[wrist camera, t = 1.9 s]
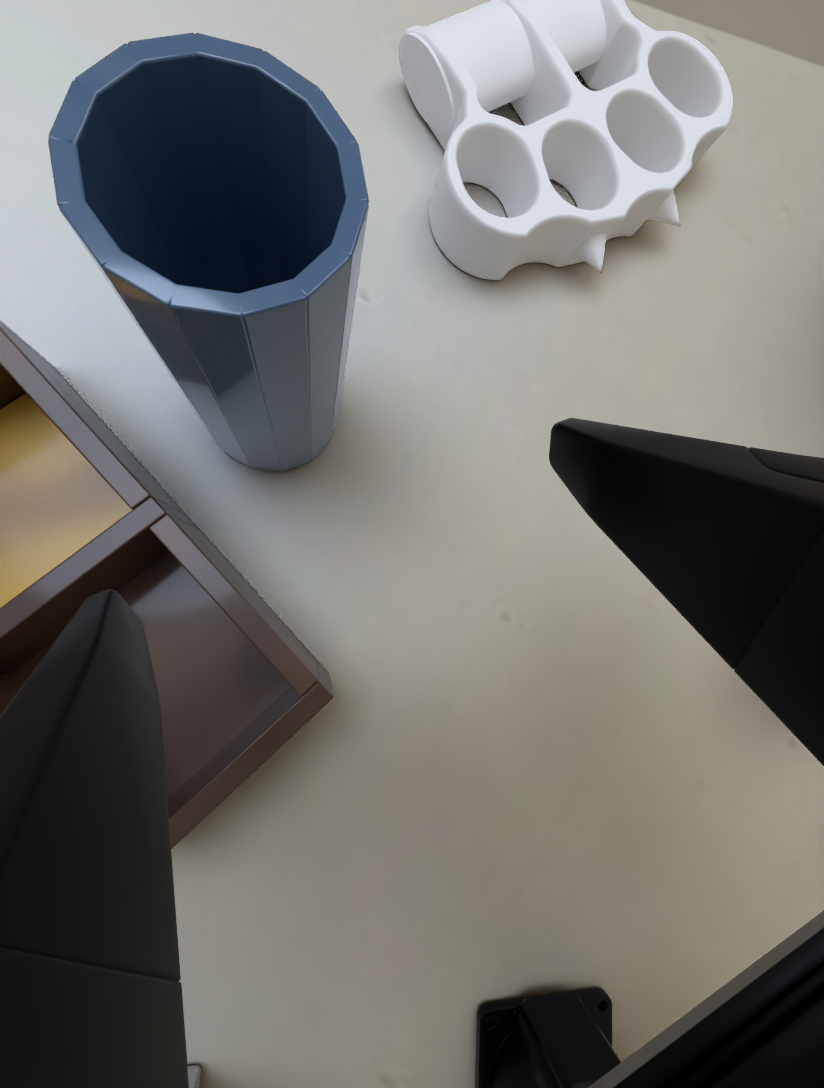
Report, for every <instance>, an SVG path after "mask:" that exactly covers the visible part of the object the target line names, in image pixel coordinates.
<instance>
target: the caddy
mask: <svg viewBox="0 0 824 1088" xmlns="http://www.w3.org/2000/svg"><path fill="white" fill-rule="evenodd" d="M108 589H112V590H115V591H117V592H118V593H119V594H120V595H121V596H122V598H123V599H124V600H125V601H126V602H127V603H128V605H129V606H130V607H131V608H132V609H133V611H134V612H135V613H136V614H137V615H138V617H139V618H140V620H141V622H142V624H143V626H144V630H145V634H146V639H147V643H148V648H149V653H150V657H151V662H152V666H153V671H154V676H155V680H156V685H157V690H158V695H159V700H160V709H161V721H162V735H163V748H164V762H165V775H166V789H167V802H168V816H169V829H170V843H171V849H172V848H173V847H174V846H175V845H176V844H177V843H178V842H179V841H181V840H182V839H183V838H184V837H185V836H186V835H187V834H188V833H189V832H190V831H191V830H192V829H193V828H194V827H196V826H197V825H198V824H199V823H200V822H201V821H202V820H203V819H204V818H205V817H206V816H207V815H208V814H209V813H211V812H212V811H213V810H214V809H215V808H216V807H217V806H218V805H219V804H220V803H221V802H222V801H223V800H224V799H225V798H227V797H228V796H229V795H230V794H231V793H232V792H233V791H234V790H235V789H236V788H237V787H238V786H239V785H240V784H242V783H243V782H244V781H245V780H246V779H247V778H248V777H249V776H250V775H251V774H252V773H253V772H254V771H255V770H256V769H258V768H259V767H260V766H261V765H262V764H263V763H264V762H265V761H266V760H267V759H268V758H269V757H270V756H271V755H273V754H274V753H275V752H276V751H277V750H278V749H279V748H280V747H281V746H282V745H283V744H284V743H285V742H286V741H288V740H289V739H290V738H291V737H292V736H293V735H294V734H295V733H296V732H297V731H298V730H299V729H300V728H301V727H302V726H304V725H305V724H306V723H307V722H308V721H309V720H310V719H311V718H312V717H313V716H314V715H315V714H316V713H317V712H319V711H320V710H321V709H322V708H323V707H324V706H325V705H326V704H327V703H328V702H329V701H330V700H331V699H332V698H333V695H332V689H331V683H330V678H329V673H328V671H327V670H326V669H325V668H324V667H323V666H322V665H321V664H320V662H319V661H318V660H317V659H316V658H315V657H314V656H313V655H312V654H311V652H310V651H309V650H308V649H307V648H306V647H305V646H304V645H303V643H302V642H301V641H300V640H299V639H298V638H297V637H296V636H295V635H294V633H293V632H292V631H291V630H290V629H289V628H288V627H287V626H286V625H285V623H284V622H283V621H282V620H281V619H280V618H279V617H278V616H277V615H276V613H275V612H274V611H273V610H272V609H271V608H270V607H269V606H268V604H267V603H266V602H265V601H264V600H263V599H262V598H261V597H260V596H259V594H258V593H257V592H256V591H255V590H254V589H253V588H252V587H251V586H250V584H249V583H248V582H247V581H246V580H245V579H244V578H243V577H242V576H241V574H240V573H239V572H238V571H237V570H236V569H235V568H234V567H233V565H232V564H231V563H230V562H229V561H228V560H227V559H226V558H225V557H224V555H223V554H222V553H221V552H220V551H219V550H218V549H217V548H216V547H215V545H214V544H213V543H212V542H211V541H210V540H209V539H208V538H207V537H206V535H205V534H204V533H203V532H202V531H201V530H200V529H199V528H198V526H197V525H196V524H195V523H194V522H193V521H192V520H191V519H190V518H189V516H188V515H187V514H186V513H185V512H184V511H183V510H182V509H181V508H180V506H179V505H178V504H177V503H176V502H175V501H174V500H173V499H172V498H171V496H170V495H169V494H168V493H167V492H166V491H165V490H164V489H163V487H162V486H161V485H160V484H159V483H158V482H157V481H156V480H155V479H154V477H153V476H152V475H151V474H150V473H149V472H148V471H147V470H146V469H145V467H144V466H143V465H142V464H141V463H140V462H139V461H138V460H137V459H136V457H135V456H134V455H133V454H132V453H131V452H130V451H129V450H128V448H127V447H126V446H125V445H124V444H123V443H122V442H121V441H120V440H119V438H118V437H117V436H116V435H115V434H114V433H113V432H112V431H111V430H110V428H109V427H108V426H107V425H106V424H105V423H104V422H103V421H102V420H101V418H100V417H99V416H98V415H97V414H96V413H95V412H94V411H93V409H92V408H91V407H90V406H89V405H88V404H87V403H86V402H85V401H84V399H83V398H82V397H81V396H80V395H79V394H78V393H77V392H76V391H75V389H74V388H73V387H72V386H71V385H70V384H69V383H68V382H67V381H66V379H65V378H64V377H63V376H62V375H61V374H60V373H59V372H58V370H57V369H56V368H55V367H54V366H53V365H52V364H51V363H49V362H48V361H47V360H46V359H45V358H44V357H42V356H41V355H40V354H39V353H38V352H37V351H35V350H34V349H33V348H32V347H31V346H30V345H28V344H27V343H26V342H25V341H24V340H22V339H21V338H20V337H19V336H18V335H17V334H15V333H14V332H13V331H12V330H11V329H10V328H8V327H7V326H6V325H5V324H4V323H3V322H1V321H0V716H1V714H2V713H3V712H4V710H5V709H6V707H7V706H8V705H9V703H10V702H11V701H12V699H13V698H14V696H15V695H16V694H17V692H18V691H19V690H20V688H21V687H22V686H23V684H24V683H25V681H26V680H27V679H28V677H29V676H30V675H31V673H32V672H33V670H34V669H35V668H36V666H37V665H38V664H39V662H40V661H41V660H42V658H43V657H44V655H45V654H46V653H47V651H48V650H49V649H50V647H51V646H52V644H53V643H54V642H55V640H56V639H57V638H58V636H59V635H60V633H61V632H62V631H63V629H64V628H65V627H66V625H67V624H68V623H69V621H70V620H71V618H72V617H73V616H74V614H75V613H76V612H77V610H78V609H79V607H80V606H81V605H82V603H83V602H84V601H85V600H86V598H88V597H90V596H92V595H95V594H97V593H100V592H103V591H106V590H108Z"/></svg>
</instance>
